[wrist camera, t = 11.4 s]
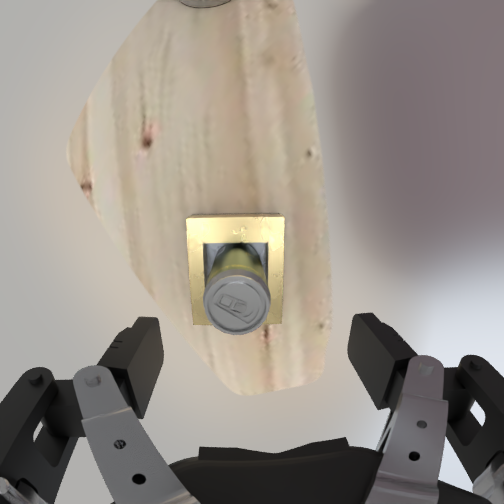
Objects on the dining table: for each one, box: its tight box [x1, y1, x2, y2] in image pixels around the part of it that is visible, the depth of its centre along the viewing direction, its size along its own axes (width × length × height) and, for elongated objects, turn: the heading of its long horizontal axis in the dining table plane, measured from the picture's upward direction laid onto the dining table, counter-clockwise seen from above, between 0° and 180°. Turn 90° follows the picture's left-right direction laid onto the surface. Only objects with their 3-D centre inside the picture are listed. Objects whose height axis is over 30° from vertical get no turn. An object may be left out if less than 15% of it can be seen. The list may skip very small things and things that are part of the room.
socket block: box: [186, 213, 284, 325], centre depth 32 cm, size 12×10×4 cm
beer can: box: [203, 243, 271, 335], centre depth 27 cm, size 5×5×12 cm
